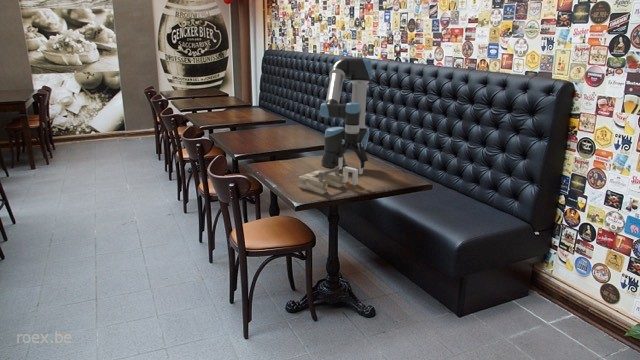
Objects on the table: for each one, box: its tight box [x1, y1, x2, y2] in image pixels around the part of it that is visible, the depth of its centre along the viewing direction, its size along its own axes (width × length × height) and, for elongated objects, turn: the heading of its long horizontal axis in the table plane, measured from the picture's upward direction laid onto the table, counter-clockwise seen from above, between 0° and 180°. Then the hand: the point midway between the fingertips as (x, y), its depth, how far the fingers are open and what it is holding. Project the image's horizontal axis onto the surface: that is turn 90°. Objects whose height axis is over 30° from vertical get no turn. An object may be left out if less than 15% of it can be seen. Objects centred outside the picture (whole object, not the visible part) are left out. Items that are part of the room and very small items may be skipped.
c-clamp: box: [298, 166, 345, 195], centre depth 252 cm, size 18×16×10 cm
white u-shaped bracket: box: [342, 165, 359, 186], centre depth 259 cm, size 3×8×8 cm, turn 51°
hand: (350, 171), depth 258 cm, fingers open, 13 cm apart
